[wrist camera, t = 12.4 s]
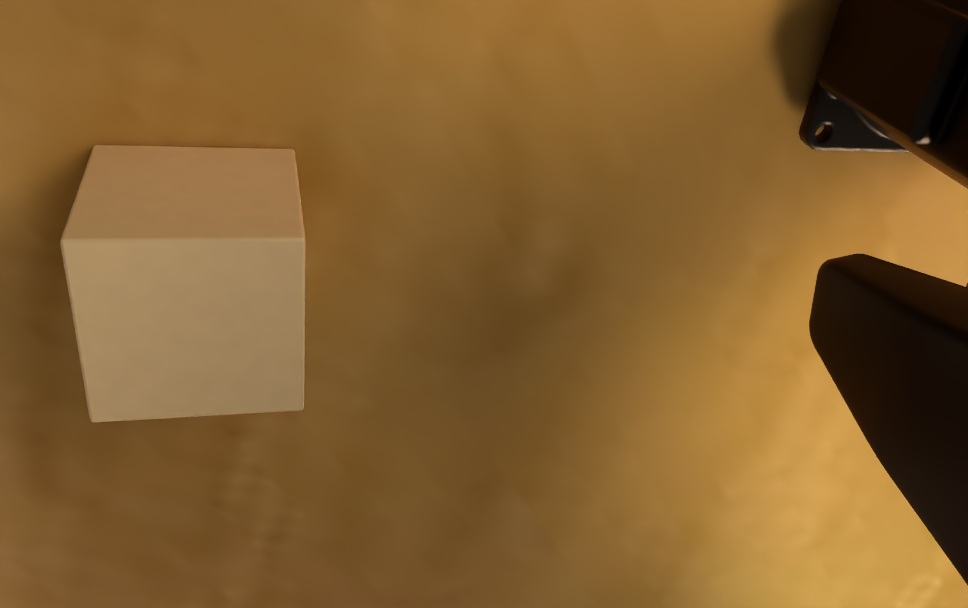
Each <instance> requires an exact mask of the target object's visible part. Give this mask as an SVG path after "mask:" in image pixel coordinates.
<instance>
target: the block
mask: <svg viewBox="0 0 968 608" xmlns="http://www.w3.org/2000/svg"><path fill="white" fill-rule="evenodd" d="M60 246H61V252H62V258H63V264H64V270H65V275H66V281H67V287H68V293H69V299H70V305H71V311H72V317H73V323H74V329H75V335H76V340H77V346H78V352H79V358H80V364H81V370H82V376H83V382H84V388H85V394H86V400H87V405H88V411H89V417H90V420H91V422H110V421H127V420H145V419H163V418H180V417H198V416H216V415H233V414H251V413H269V412H286V411H301V410H303V408H304V381H305V261H306V239H305V231H304V222H303V214H302V206H301V197H300V189H299V181H298V172H297V164H296V156H295V151H294V150H293V149H269V148H220V147H171V146H122V145H95V146H94V147H93V149H92V152H91V155H90V158H89V161H88V163H87V166H86V169H85V172H84V175H83V178H82V180H81V183H80V186H79V189H78V192H77V195H76V197H75V200H74V203H73V206H72V209H71V212H70V214H69V217H68V220H67V223H66V226H65V229H64V231H63V234H62V237H61V240H60Z"/></svg>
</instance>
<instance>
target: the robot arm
mask: <svg viewBox="0 0 968 608" xmlns="http://www.w3.org/2000/svg"><path fill="white" fill-rule="evenodd" d="M822 125H824V129H823V130H822V132H821V133H820V134H818V135H816V136H815V133H816V131H817V130H818V128H819V127H821V126H822ZM799 135H800V139H801V140H802V141H803V142H804V143H805V144H806V145H808V146H809V147H810V148H812V149H815V150H827V151H870V152H912V153H913V154H915V155H916V156H918V157H919V158H921V159H922V160H924V161H926V162H927V163H929V164H930V165H932V166H933V167H935V168H936V169H938V170H939V171H941V172H943V173H944V174H946V175H947V176H949V177H950V178H952V179H953V180H955V181H957V182H958V183H960V184H961V185H963V186H964V187H966V188H967V189H968V0H842V1H841V4H840V7H839V10H838V13H837V16H836V19H835V22H834V25H833V28H832V31H831V34H830V37H829V40H828V43H827V46H826V49H825V52H824V55H823V58H822V61H821V64H820V67H819V70H818V73H817V78H816V81H815V84H814V87H813V90H812V93H811V96H810V99H809V102H808V105H807V108H806V111H805V114H804V117H803V120H802V123H801V126H800V131H799ZM809 329H810V336H811V339H812V342H813V344H814V347H815V349H816V350H817V352H818V354H819V356H820V357H821V359H822V361H823V363H824V365H825V366H826V368H827V370H828V372H829V374H830V375H831V377H832V379H833V381H834V382H835V384H836V386H837V388H838V390H839V391H840V393H841V395H842V397H843V398H844V400H845V402H846V404H847V406H848V407H849V409H850V411H851V413H852V415H853V416H854V418H855V420H856V422H857V423H858V425H859V427H860V429H861V431H862V432H863V434H864V436H865V438H866V439H867V441H868V443H869V444H870V446H871V448H872V449H873V451H874V453H875V454H876V456H877V458H878V459H879V461H880V462H881V464H882V465H883V467H884V468H885V470H886V471H887V473H888V474H889V475H890V477H891V478H892V480H893V481H894V483H895V484H896V485H897V487H898V488H899V490H900V491H901V492H902V494H903V495H904V497H905V498H906V499H907V501H908V502H909V504H910V505H911V506H912V508H913V509H914V511H915V512H916V513H917V515H918V516H919V518H920V519H921V520H922V522H923V523H924V525H925V526H926V527H927V529H928V530H929V532H930V533H931V534H932V536H933V537H934V539H935V540H936V541H937V543H938V544H939V546H940V547H941V548H942V550H943V551H944V553H945V554H946V555H947V557H948V558H949V560H950V561H951V562H952V564H953V565H954V567H955V568H956V569H957V571H958V572H959V574H960V575H961V576H962V578H963V579H964V581H965V582H966V583H967V585H968V283H967V285H966V287H964V286H961V285H958V284H955V283H952V282H949V281H946V280H943V279H939V278H936V277H933V276H930V275H927V274H924V273H921V272H918V271H915V270H912V269H909V268H906V267H903V266H900V265H896V264H893V263H890V262H887V261H884V260H881V259H878V258H875V257H872V256H869V255H865V254H853V255H848V256H843V257H839V258H834V259H829V260H827V261H826V262H824V263H823V264H822V265H821V267H820V269H819V271H818V274H817V280H816V286H815V292H814V297H813V303H812V309H811V315H810V321H809Z"/></svg>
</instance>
